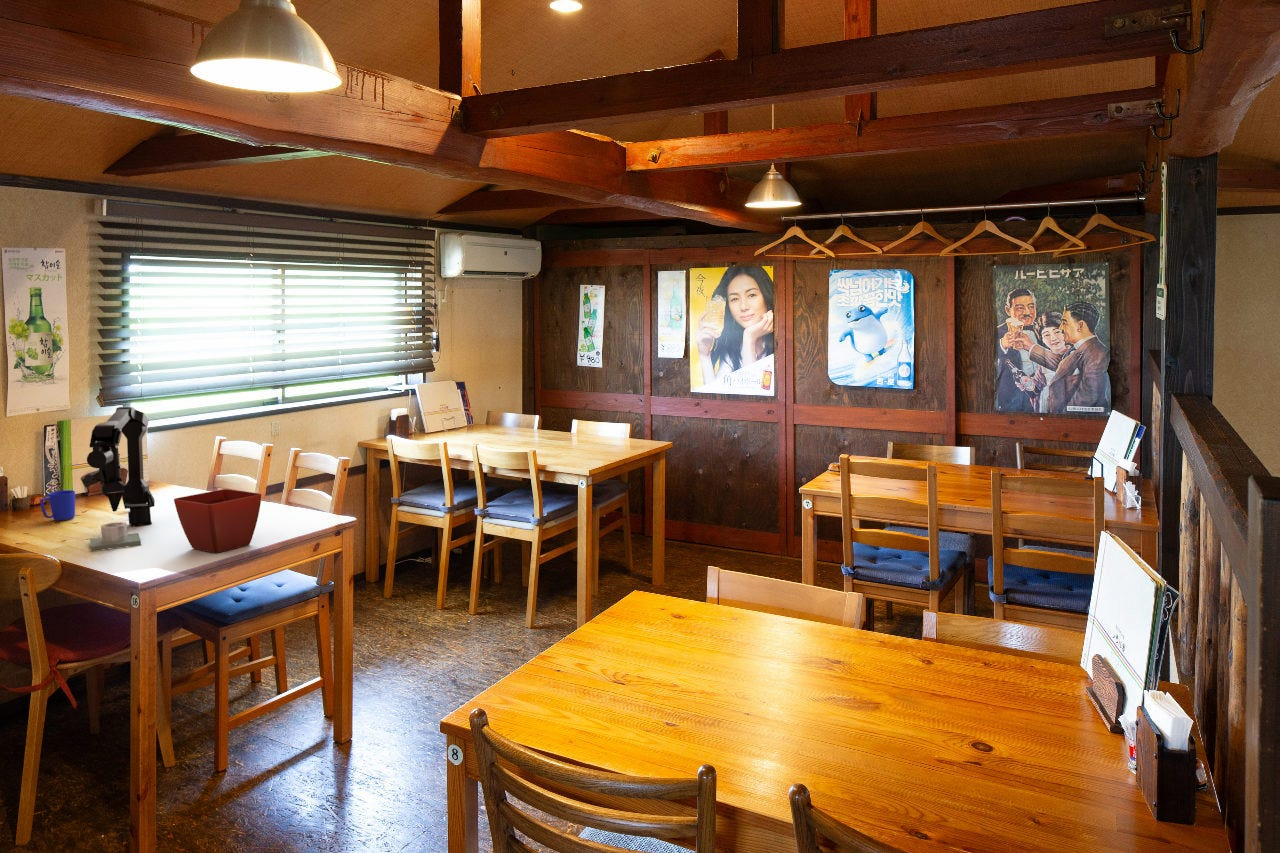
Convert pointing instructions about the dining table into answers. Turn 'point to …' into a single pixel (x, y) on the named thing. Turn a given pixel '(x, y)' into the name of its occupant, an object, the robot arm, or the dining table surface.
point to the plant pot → (219, 519)
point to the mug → (60, 505)
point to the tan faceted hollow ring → (114, 532)
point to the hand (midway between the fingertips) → (113, 508)
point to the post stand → (131, 541)
